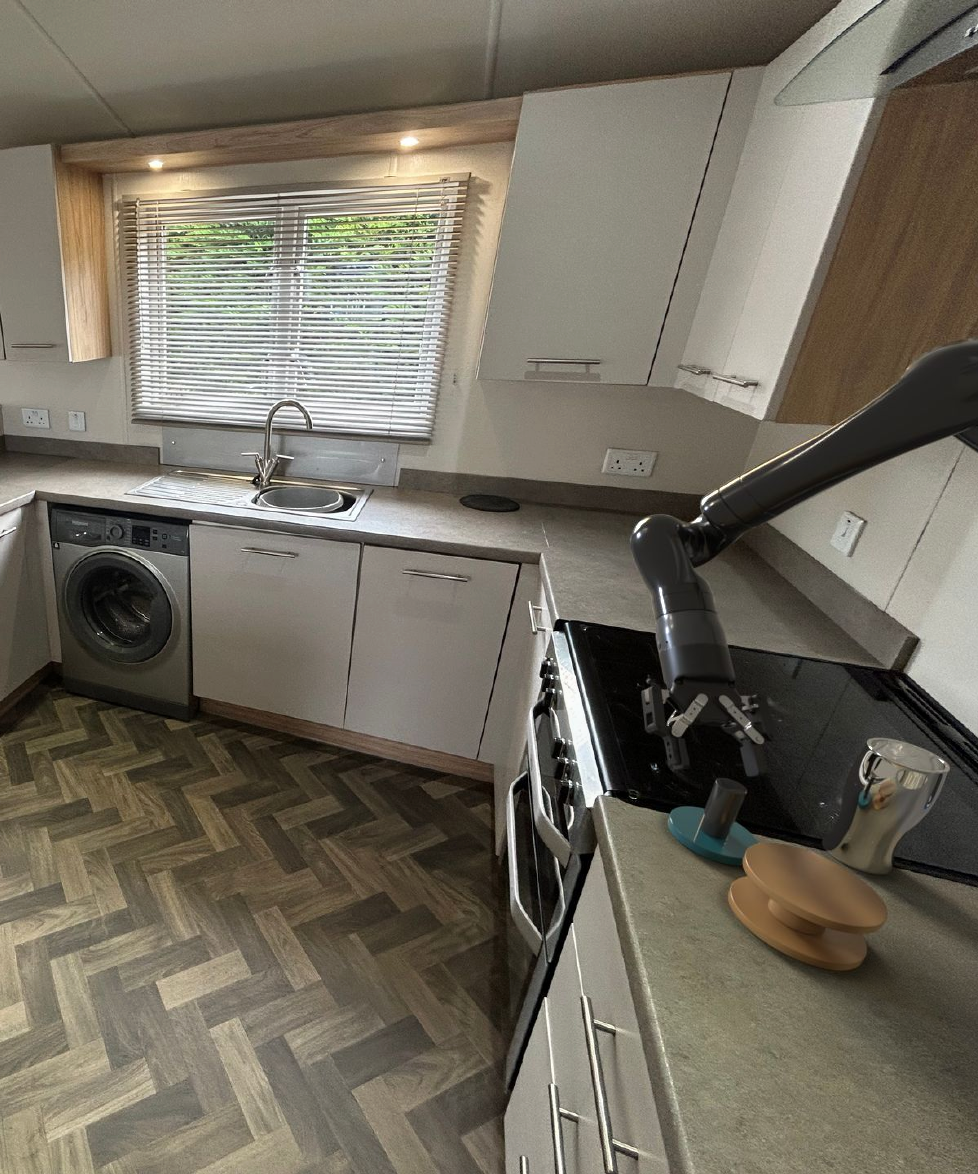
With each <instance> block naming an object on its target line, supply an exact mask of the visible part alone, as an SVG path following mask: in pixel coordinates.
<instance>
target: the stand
mask: <svg viewBox="0 0 978 1174" xmlns="http://www.w3.org/2000/svg"><path fill="white" fill-rule="evenodd" d="M742 863H743V865H742V868H743V870H744V873H745V874H746V876H743V877H740V878H737V879H736V880H734V881H733V882H732V883H731V885H730V888H729V890H728V893H727V901H728V904H729V907H730V908H731V911H732V912H733V914H734V915H735V917H736V918H737V919H738V920H739V922H741V924H742V925H743V926H745V928H746V929H747V930H749V931H750V932H751V933H752V934H754V935H755V936H756V937H758V938H759V939H760V940H761V941H763V942H764V943H766V944H767V945H768V946H770V947H772V948H773V949H775V950H777V951H779V952H781V953H782V954H785V955H786V956H788V957H790V958H793V959H795V960H797V961H800V962H802V963H805V964H807V965H810V966H813V967H816V968H821V969H825V970H830V971H839V972H840V971H849V970H854V969H856V968H858V967H859V966H861V965H862V964H863V962H864V960H865V958H866V956H867V954H868V945H867V942H866V940H865V938H864V936H863V935H867V934H873V933H874V934H875V933H876V932H879V930H881V929H882V928H883V926H884V925H885V923H886V921H887V919H888V915H889V914H888V909H887V906H886V904H885V902H884V901H883V898H882V897H881V896H880V895H879V894H878V893H877V892H876V891H875V890H874V889H873V888H872V887H871V886H870V885H869V884H868V883H867V882H865V881H864V880H863V879H862V878H860V877H859V876H857V875H856V874H854V873H853V872H852V871H850V870H849V869H847V868H845V867H843V866H842V865H840V864H838V863H836V862H834V861H832V860H830V859H828V858H826V857H824V856H821V855H819V854H817V853H814V852H812V851H809V850H806V849H803V848H800V847H797V846H793V845H789V844H784V843H778V842H758V844H755V845H752V846H751V847H749V848H748V849H747V850H746V853H745V855H744V857H743V862H742Z"/></svg>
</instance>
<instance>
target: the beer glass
mask: <svg viewBox="0 0 978 1174" xmlns="http://www.w3.org/2000/svg"><path fill="white" fill-rule="evenodd" d="M950 770H951V766H950V765H949V763H947V761H945V759H943V758H942V757H940V756H938V755H937V754H936V753H933V752H931V751H930V750H927V749H925V748H923V747H920V746H918V745H914V744H912V743H909V742H906V741H902V740H897V739H893V738H887V737H871V738H869V739H867V741H866V743H865V745H864V746H863V747H862V749H861V751H860V752H859V753H858V755H857V756H856V759H855V760H854V762H853V764H852V766H851V767H850V770H849V772H848V774H847V777H846V779H845V784H844V788H843V793H842V799H841V805H840V810H839V815H838V817H837V820H836V822H835V823H834V825H833V826H832V827H831V829H830V830H829V831H828V832H827V833H826V834H825V835H824V836H823V838H822V839H821V845H822V847H823V849H824V850H825V851H826V852H827V853H828V854H829V856H831V857H832V858H834V859H835V860H837V861H838V862H840V863H842V864H843V865H846V866H848V867H850V868H853V869H854V870H857V871H861V872H863V873H867V874H871V875H878V876H879V875H880V876H881V875H882V876H883V875H887V874H889V873H890V872H891V871H892V869H893V865H894V859H895V854H896V851H897V849H898V847H899V846H900V844H901V842H902V841H903V840H904V839H905V838H906V837H907V836H908V835H909V833H911V832H912V831H913V830H914V829H915V828H916V827H917V826H918V825H919V823H920V822H921V821H922V820H923V819H924V818H925V817H926V816H927V815H928V813H929V812H930V811H931V810H932V808H933V807H934V805H935V803H936V801H937V800H938V798H939V796H940V794H941V791H942V789H943V787H944V784H945V782H946V778H947V776H948V773H949V771H950Z"/></svg>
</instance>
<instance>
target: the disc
mask: <svg viewBox="0 0 978 1174" xmlns="http://www.w3.org/2000/svg"><path fill="white" fill-rule="evenodd" d="M747 793H748V789H747V788H746V787H745V786H744V785H743V784H741V783H740V782H738V781H736V780H733V779H731V778H726V777H718V778H716V779H715V782H714V784H713V787H712V789H711V792H710V794H709V797H708V799H707V802H706V805H705V807H704V808H702V807H699V806H698V807H697V806H690V805H689V806H687V805H686V806H684V805H683V806H679V807H675V808H674V809H672V810H671V812H669V816H668V819H667V827H668V830H669V832H670V833H671V835H672V836H673V837H674V838H675V839H676V840H677V841H678V842H680V843H681V844H682V846H684V847H686V848H687V849H689V850H691V851H692V852H694V853H696V854H697V855H699V856H702V857H704V858H706V859H709V860H711V861H714V862H717V863H721V864H725V865H730V866H743V863H742V862H743V857H744V855H745V853H746V850H747V849H748V848H749V847H751V846H752V845H755V844H758V843H759V841H758V840H757V839H756V837H755V836H754V834H753V833H751V832H750V831H749V830H748V829H747V828H745V826H742V825H741V824H740V823H738V822H737V821H736V820H737V817H738V816H739V813H740V810H741V807H742V805H743V803H744V800H745V798H746V795H747Z"/></svg>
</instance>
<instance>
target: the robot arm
mask: <svg viewBox="0 0 978 1174" xmlns="http://www.w3.org/2000/svg"><path fill="white" fill-rule="evenodd" d="M950 437H953V438H954V439H956V440H957V441H959V442H960V443H962V444H963V445H965V447H966V446H967V447H968V448H969V449H971V450H972V451H974V452H975V453H976V454H978V337H970V338H962V339H956V340H952V341H949V342H946V343H945V342H944V343H942V344H939V345H938V346H934V347H933V348H931V349H929V350H927V351H926V352H924V353H922V354H920V355H919V356H918V357H917V358H916V359H915V360H914V361H913V362H912V363H911V364H910V365H909V366H908V367H907V368H906V369H905V371H904V372H903V374H902V375H901V377H900V379H898V380H897V381H896V382H895V383H893V384H892V385H891V386H889V387H888V388H886V389H885V390H884V391H883V392H881V393H880V394H879V395H877V396H876V397H875V398H873V399H872V400H871V401H870V402H868V403H867V404H865V405H864V406H862V407H861V408H860V409H858V410H857V411H855V412H853V413H852V414H851V415H849V416H847V417H845V418H844V419H843V420H841V421H839V422H838V423H836V424H834V425H833V426H831V427H829V428H827V429H826V430H824V431H822V432H820V433H818V434H817V435H814V436H812V437H811V438H809V439H807V440H804V441H802V442H800V443H798V444H796V445H794V446H792V447H790V448H787V449H785V450H783V451H781V452H779V453H777V454H775V455H773V456H771V457H769V458H767V459H765V460H763V461H761V462H759V463H758V464H755V465H754V466H752V467H750V468H748V469H747V470H745V471H743V472H741V473H739V474H738V475H736V476H734V477H733V478H731V479H729V480H727V481H725V482H724V483H722V484H721V485H719V486H717V487H715V488H713V489H712V490H710V491H709V492H707V493H706V494H705V495H704V496H702V498H701V500H700V502H699V509H700V512H701V514H700V515H699V516H697V517H696V518H695V519H693V520H691V521H690V522H686V521H683V520H681V519H679V518H677V517H675V516H672V515H669V514H663V513H656V514H650V515H648V516H645V517H643V518H642V519H641V520H640V521H638V522H637V523H636V524H635V525H634V527H633V528H632V531H631V534H630V538H629V549H630V555H631V557H632V560H633V563H634V565H635V567H636V570H637V571H638V574H639V575H640V578H641V581H642V582H643V584H644V586H645V588H646V589H647V591H648V593H649V596H650V604H651V609H652V614H653V618H654V623H655V624H654V625H655V641H656V647H657V652H658V657H659V662H660V667H661V672H662V677H663V683H664V684H665V685H666V689H662V688H661V687H660V686H659V685H652V686H650V687H648V688H646V689H644V690H642V691H641V693H640V694H641V701H642V702H641V703H642V710H643V712H642V713H643V719H644V720H643V721H644V729H645V732H646V733H648V734H649V735H656V736H658V737H660V738H661V739H663V742H664V747H665V753H666V757H667V758H666V759H667V762H668V763H669V765H672V768H673V769H674V770H676V771H684V770H688V769H690V761H689V755H688V751H687V746H686V745H687V744H686V740H685V738H683V737H682V735H683V734H684V733H685V731H686V730H687V728H688V727H689V726H702V725H703V726H704V725H705V726H707V727H711V728H712V727H714V728H717V727H720V729H722V730H723V731H724V732H725V733H727V734H729V735H731V736H732V737H733V738H734V739H735V740H736V741H737V742H738V743H739V745H741V746H740V747H739V749H740V755H741V758H742V762H743V768H744V772H745V775H746V776H747V777H749V778H759V777H764V776H765V773H766V772H767V770H768V766H767V765H768V764H767V761H766V757H765V753H764V749H763V745H765V744H767V743H770V742H775V741H778V739H779V734H778V730H777V727H776V724H775V721H774V718H773V714H772V712H771V709H770V706H769V702H768V699H767V697H766V696H765V695H764V694H762V693H757V694H753V695H740V693H739V692H738V690H737V689H736V687H735V686H736V685H735V684H736V674H735V671H734V670H735V669H734V666H733V661H732V657H731V654H730V653H731V652H730V649H729V645H728V641H727V636H726V632H725V629H724V627H723V625H722V622H721V620H720V617H719V614H718V613H719V612H718V609H717V605H716V600H715V596H714V592H713V589H712V587H711V585H710V582H709V581H708V580H707V579H706V578H705V577H703V576H702V575H700V574H699V572H697V570H695V569H697V568H700V567H702V566H704V565H706V564H708V563H709V562H711V561H713V560H714V559H715V558H716V557H718V556H719V555H720V554H721V553H723V552H724V551H725V550H727V549H728V548H729V547H730V546H732V545H733V544H734V543H735V542H736V541H738V540H739V539H740V538H741V537H742V536H744V535H745V534H746V533H747V532H750V531H753V530H754V529H756V528H758V527H760V526H762V525H764V524H766V523H768V522H770V521H772V520H774V519H776V518H778V517H779V516H782V515H784V514H785V513H788V512H789V511H791V510H793V509H795V508H798V507H799V506H801V505H803V504H805V503H806V502H808V501H810V500H812V499H814V498H815V497H817V496H819V495H821V494H822V493H825V492H826V491H828V490H830V489H832V488H834V487H836V486H838V485H840V484H841V483H844V482H845V481H848V480H850V479H851V478H853V477H855V476H858V475H860V474H863V473H865V472H866V471H868V470H870V469H872V468H874V467H877V466H879V465H881V464H884V463H886V462H888V461H890V460H892V459H893V460H894V459H895V458H898V457H900V456H902V455H904V454H907V453H909V452H912V451H915V450H917V449H920V448H923V447H925V446H928V445H931V444H934V443H936V442H939V441H942V440H944V439H947V438H950ZM666 702H667V703H668V704H669V705H670V707H672V708H673V709H674V711H673V712H672V714H671V715H670V717H669V718H668V720H667V721H666V715H665V706H664V704H666ZM740 707H741V710H740V709H739V708H740ZM741 711H742V712H741ZM744 712H745V714H746V715H745V714H744ZM732 721H734V722H732Z"/></svg>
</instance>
